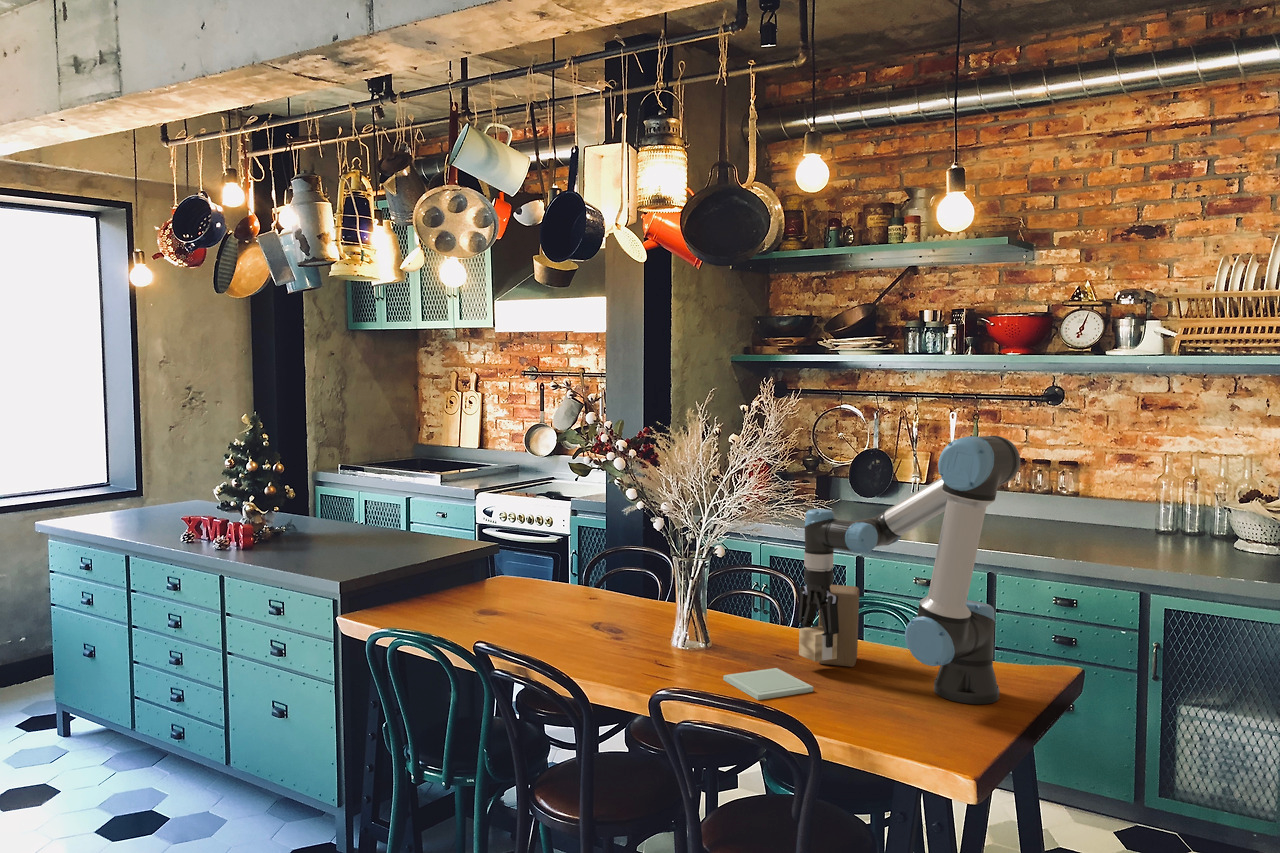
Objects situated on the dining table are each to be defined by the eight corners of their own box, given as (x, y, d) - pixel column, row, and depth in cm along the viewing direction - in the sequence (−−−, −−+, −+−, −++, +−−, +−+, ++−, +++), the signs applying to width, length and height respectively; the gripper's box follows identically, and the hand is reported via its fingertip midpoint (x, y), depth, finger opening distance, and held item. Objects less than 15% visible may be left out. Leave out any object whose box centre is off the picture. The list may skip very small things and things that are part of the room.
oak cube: (836, 658, 245) (837, 632, 245) (814, 661, 242) (815, 634, 242) (820, 651, 252) (820, 625, 251) (798, 654, 248) (799, 628, 248)
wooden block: (857, 657, 259) (859, 586, 258) (855, 668, 249) (857, 593, 248) (820, 654, 262) (822, 583, 261) (816, 664, 252) (819, 590, 251)
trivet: (813, 691, 230) (813, 686, 230) (757, 700, 223) (757, 694, 223) (776, 672, 244) (776, 667, 244) (723, 679, 238) (723, 675, 238)
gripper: (854, 574, 239) (853, 663, 239) (808, 561, 257) (807, 644, 257) (830, 576, 235) (829, 667, 236) (785, 563, 253) (784, 647, 254)
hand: (817, 655), depth 247 cm, fingers closed on oak cube, 7 cm apart
